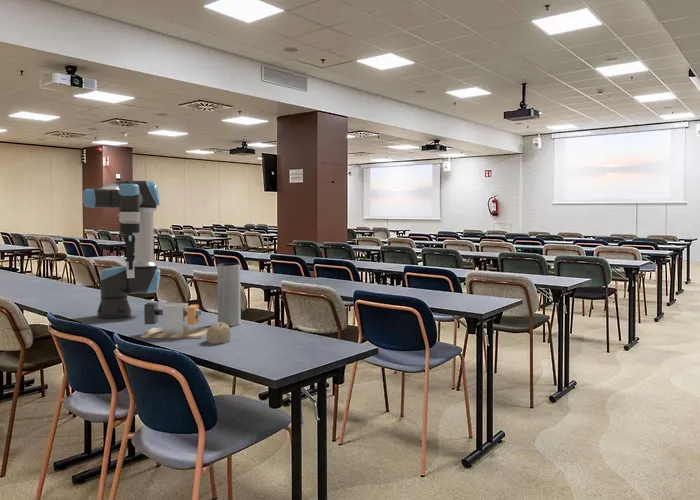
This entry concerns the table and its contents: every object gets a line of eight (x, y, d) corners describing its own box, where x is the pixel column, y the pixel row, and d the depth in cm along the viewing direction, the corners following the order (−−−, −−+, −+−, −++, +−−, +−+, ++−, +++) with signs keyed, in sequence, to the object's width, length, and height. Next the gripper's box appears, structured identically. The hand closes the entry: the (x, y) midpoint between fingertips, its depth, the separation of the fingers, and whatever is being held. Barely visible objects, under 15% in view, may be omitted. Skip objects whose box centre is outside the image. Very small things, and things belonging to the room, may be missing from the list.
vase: (239, 321, 252) (238, 263, 250) (241, 325, 243) (241, 265, 241) (216, 322, 249) (216, 263, 247) (218, 327, 240) (218, 265, 238)
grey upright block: (163, 333, 221) (162, 306, 220) (169, 329, 229) (168, 303, 228) (183, 333, 221) (182, 306, 221) (188, 329, 229) (188, 303, 229)
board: (140, 337, 218) (140, 335, 218) (152, 330, 232) (152, 327, 232) (201, 338, 219) (201, 335, 219) (209, 330, 233) (209, 328, 233)
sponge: (231, 351, 214) (238, 328, 219) (220, 342, 206) (228, 318, 211) (210, 349, 217) (218, 326, 222) (199, 340, 209) (207, 316, 214)
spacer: (187, 324, 222) (187, 307, 221) (191, 321, 229) (191, 304, 228) (194, 324, 222) (194, 307, 221) (198, 321, 229) (198, 304, 228)
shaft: (144, 324, 222) (144, 304, 222) (148, 322, 227) (147, 302, 226) (199, 324, 223) (198, 305, 223) (201, 322, 227) (201, 303, 227)
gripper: (119, 222, 227) (120, 273, 229) (119, 223, 204) (120, 280, 206) (138, 222, 230) (139, 272, 231) (140, 223, 207) (141, 279, 209)
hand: (130, 276), depth 219 cm, fingers open, 13 cm apart
